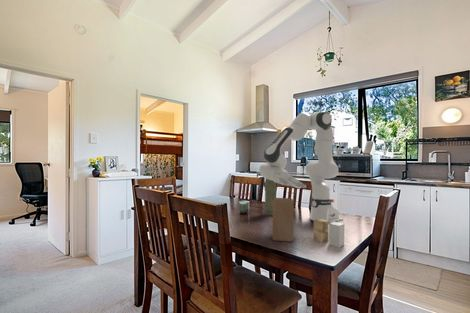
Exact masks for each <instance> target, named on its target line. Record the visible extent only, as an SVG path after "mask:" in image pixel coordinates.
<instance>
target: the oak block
mask: <svg viewBox="0 0 470 313" xmlns="http://www.w3.org/2000/svg"><path fill="white" fill-rule="evenodd" d="M313 240H314V241H316V242H319V243H326V242H329V221H327V220H324V219H315V220H313Z"/></svg>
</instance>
